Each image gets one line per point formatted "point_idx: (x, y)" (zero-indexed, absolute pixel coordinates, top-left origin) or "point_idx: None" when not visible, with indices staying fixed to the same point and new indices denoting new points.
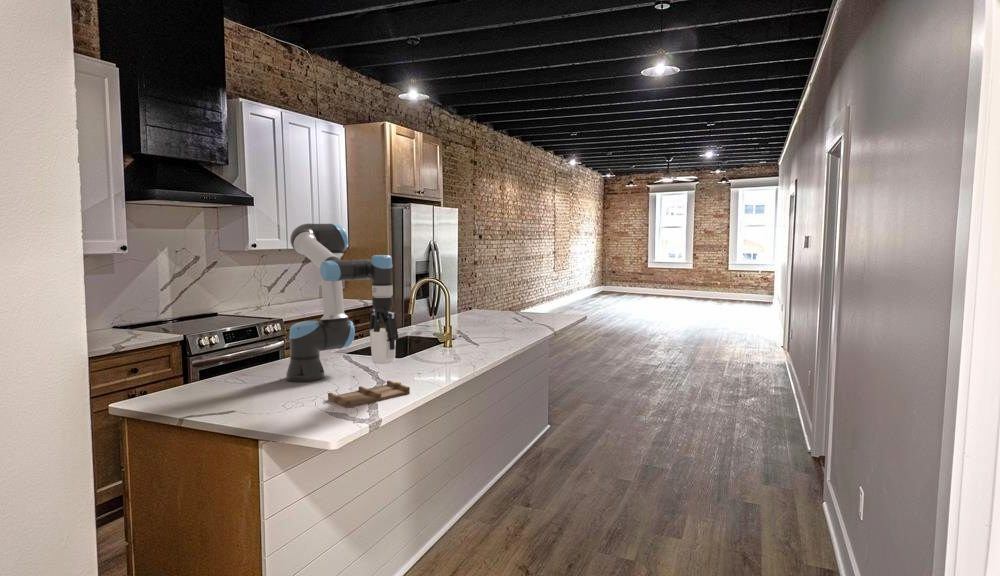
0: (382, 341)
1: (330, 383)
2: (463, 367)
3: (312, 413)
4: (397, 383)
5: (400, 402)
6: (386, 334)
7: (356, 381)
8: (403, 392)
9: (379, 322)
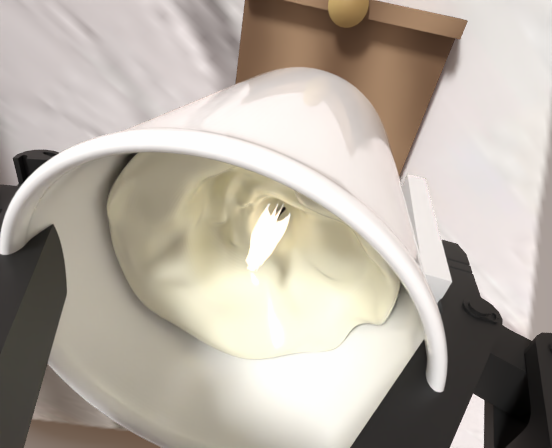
0: (348, 357)
1: (25, 109)
2: None
3: None
4: (357, 22)
5: (498, 169)
6: None
7: (52, 9)
8: (442, 65)
9: (3, 436)
